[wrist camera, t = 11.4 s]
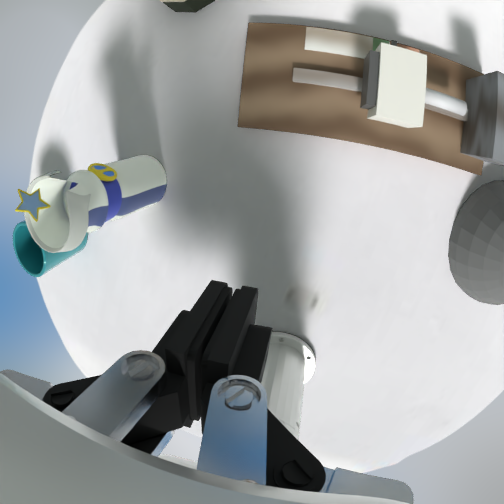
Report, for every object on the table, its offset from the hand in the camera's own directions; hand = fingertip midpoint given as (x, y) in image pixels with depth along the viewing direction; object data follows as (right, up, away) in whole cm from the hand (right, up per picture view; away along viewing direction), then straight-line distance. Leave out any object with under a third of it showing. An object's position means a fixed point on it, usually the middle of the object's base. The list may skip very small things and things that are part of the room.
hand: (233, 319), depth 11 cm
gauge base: (+16, +22, +20) cm, 34 cm away
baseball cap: (+41, +4, +22) cm, 47 cm away
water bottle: (-15, +13, +30) cm, 36 cm away
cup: (-31, +8, +35) cm, 48 cm away
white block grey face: (+19, +21, +16) cm, 33 cm away
